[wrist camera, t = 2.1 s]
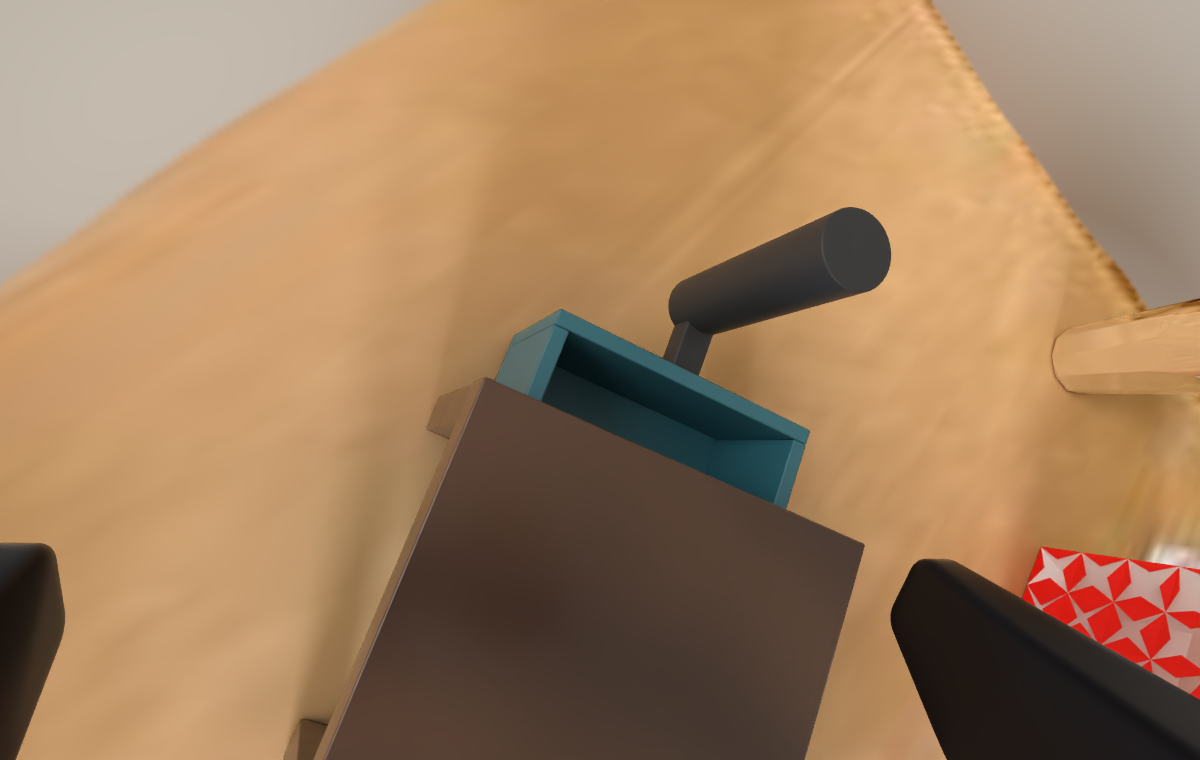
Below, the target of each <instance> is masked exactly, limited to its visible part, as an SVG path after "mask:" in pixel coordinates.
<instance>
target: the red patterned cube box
mask: <svg viewBox="0 0 1200 760" xmlns="http://www.w3.org/2000/svg"><path fill="white" fill-rule="evenodd" d="M1022 599H1023V600H1025V601H1026V602H1028V603H1030V604H1032V605H1033V606H1035V607H1037V608H1039V609H1041V610H1042V611H1044V612H1046V613H1048V614H1049V615H1051V616H1053V617H1055V618H1056V619H1058V620H1060V621H1062V622H1063V623H1065V624H1067V625H1069V626H1071V627H1072V628H1074V629H1076V630H1078V631H1079V632H1081V633H1083V634H1085V635H1086V636H1088V637H1090V638H1092V639H1093V640H1095V641H1097V642H1099V643H1101V644H1102V645H1104V646H1106V647H1108V648H1109V649H1111V650H1113V651H1115V652H1116V653H1118V654H1120V655H1122V656H1124V657H1125V658H1127V659H1129V660H1131V661H1132V662H1134V663H1136V664H1138V665H1139V666H1141V667H1143V668H1145V669H1146V670H1148V671H1150V672H1152V673H1154V674H1155V675H1157V676H1159V677H1161V678H1162V679H1164V680H1166V681H1168V682H1169V683H1171V684H1173V685H1175V686H1176V687H1178V688H1180V689H1182V690H1184V691H1185V692H1187V693H1189V694H1191V695H1192V696H1194V697H1196V698H1198V699H1199V700H1200V569H1193V568H1186V567H1179V566H1173V565H1166V564H1159V563H1152V562H1145V561H1138V560H1131V559H1124V558H1117V557H1110V556H1103V555H1096V554H1089V553H1082V552H1075V551H1068V550H1061V549H1054V548H1047V547H1041V548H1040V551H1039V554H1038V557H1037V559H1036V562H1035V565H1034V567H1033V570H1032V573H1031V576H1030V578H1029V581H1028V585H1027V587H1026V590H1025V593H1024V595H1023V598H1022Z"/></svg>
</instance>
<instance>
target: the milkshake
mask: <svg viewBox="0 0 1200 760" xmlns="http://www.w3.org/2000/svg"><path fill="white" fill-rule="evenodd" d="M1052 361H1053V365H1054V371H1055V376H1056V377H1057V378H1058V380H1059V381H1060V382H1061V383H1062V385H1063V386H1064V387H1065V388H1066V390H1067V391H1072V392H1077V393H1082V394H1194V395H1200V298H1198V299H1194V300H1190V301H1186V302H1182V303H1177V304H1173V305H1168V306H1164V307H1159V308H1155V309H1151V310H1146V311H1142V312H1138V313H1133V314H1129V315H1124V316H1120V317H1116V318H1111V319H1107V320H1103V321H1098V322H1094V323H1090V324H1085V325H1081V326H1077V327H1073V328H1069V329H1068V330H1066V331H1065V332H1064V333H1062V334H1061V335H1060V336H1058V337H1057V338H1056V342H1055V346H1054V349H1053V353H1052Z"/></svg>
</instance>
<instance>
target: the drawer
mask: <svg viewBox="0 0 1200 760" xmlns="http://www.w3.org/2000/svg"><path fill="white" fill-rule="evenodd" d="M890 262H891V248H890V243H889V239H888V236H887V234H886V232H885V230H884V228H883V226H882V225H881V224H880V222H879V221H878V220H877V219H876V218H875V217H874V216H873V215H871V214H870V213H869V212H867V211H865V210H862V209H859V208H854V207H847V208H842V209H840V210H837V211H835V212H833V213H831V214H829V215H826V216H824V217H822V218H820V219H817V220H815V221H813V222H811V223H809V224H806V225H804V226H802V227H800V228H798V229H795V230H793V231H791V232H789V233H787V234H784V235H782V236H780V237H778V238H776V239H773V240H771V241H769V242H767V243H765V244H762V245H760V246H758V247H756V248H754V249H751V250H749V251H747V252H745V253H743V254H740V255H738V256H736V257H734V258H732V259H729V260H727V261H725V262H723V263H721V264H718V265H716V266H714V267H712V268H710V269H707V270H705V271H703V272H701V273H699V274H696V275H694V276H692V277H690V278H688V279H685V280H683V281H681V282H680V283H679V284H677V285H676V286H675V288H674V289H673V291H672V293H671V295H670V298H669V306H668V307H669V314H670V317H671V320H672V322H673V324H674V325H675V327H674V329H673V332H672V335H671V338H670V340H669V343H668V346H667V348H666V351H665V354H664V357H663V358H661V357H659V356H657V355H655V354H653V353H651V352H649V351H646V350H644V349H642V348H640V347H638V346H636V345H634V344H632V343H630V342H628V341H626V340H624V339H622V338H620V337H618V336H616V335H614V334H612V333H610V332H608V331H606V330H604V329H602V328H599V327H597V326H595V325H593V324H591V323H589V322H587V321H585V320H583V319H581V318H579V317H577V316H575V315H573V314H571V313H569V312H567V311H565V310H563V309H560V310H558V311H556V312H555V313H553V314H551V315H549V316H548V317H546V318H544V319H542V320H540V321H539V322H537V323H535V324H533V325H532V326H530V327H528V328H526V329H525V330H523V331H521V332H519V333H518V334H516V335H514V337H513V339H512V341H511V344H510V346H509V349H508V351H507V353H506V356H505V358H504V360H503V363H502V365H501V368H500V370H499V372H498V375H497V377H496V380H495V381H496V382H499V383H501V384H503V385H505V386H508V387H510V388H512V389H514V390H517V391H519V392H521V393H523V394H526V395H528V396H530V397H533V398H535V399H537V400H539V401H542V402H544V403H546V404H548V405H551V406H553V407H555V408H557V409H560V410H562V411H564V412H566V413H569V414H571V415H573V416H576V417H578V418H580V419H582V420H585V421H587V422H589V423H591V424H594V425H596V426H598V427H600V428H603V429H605V430H607V431H609V432H612V433H614V434H616V435H619V436H621V437H623V438H625V439H628V440H630V441H632V442H634V443H637V444H639V445H641V446H643V447H646V448H648V449H650V450H652V451H655V452H657V453H659V454H662V455H664V456H666V457H668V458H671V459H673V460H675V461H677V462H680V463H682V464H684V465H686V466H689V467H691V468H693V469H695V470H698V471H700V472H702V473H705V474H707V475H709V476H711V477H714V478H716V479H718V480H720V481H723V482H725V483H727V484H729V485H732V486H734V487H736V488H738V489H741V490H743V491H745V492H748V493H750V494H752V495H754V496H757V497H759V498H761V499H763V500H766V501H768V502H770V503H772V504H775V505H777V506H779V507H781V508H784V509H786V507H787V504H788V501H789V498H790V494H791V491H792V488H793V485H794V481H795V478H796V475H797V472H798V468H799V465H800V462H801V459H802V456H803V452H804V449H805V445H804V444H806V443H807V439H808V436H809V433H810V431H809V430H808V429H806V428H804V427H802V426H800V425H798V424H796V423H794V422H792V421H790V420H788V419H786V418H783V417H781V416H779V415H777V414H775V413H773V412H771V411H769V410H767V409H765V408H763V407H761V406H759V405H757V404H755V403H753V402H751V401H749V400H747V399H745V398H743V397H741V396H738V395H736V394H734V393H732V392H730V391H728V390H726V389H724V388H722V387H720V386H718V385H716V384H714V383H712V382H710V381H708V380H706V379H704V378H702V377H700V376H699V373H700V370H701V367H702V364H703V361H704V358H705V356H706V353H707V350H708V347H709V344H710V341H711V339H712V336H713V335H714V334H718V333H722V332H725V331H729V330H732V329H736V328H739V327H743V326H747V325H750V324H754V323H757V322H761V321H764V320H768V319H772V318H775V317H779V316H782V315H786V314H789V313H793V312H796V311H800V310H804V309H807V308H811V307H814V306H818V305H821V304H825V303H829V302H832V301H836V300H839V299H843V298H846V297H850V296H854V295H857V294H861V293H864V292H868V291H871V290H872V289H874V288H876V287H877V286H878V285H879V284H880V283H881V282H882V281H883V280H884V278H885V277H886V275H887V273H888V270H889V267H890Z"/></svg>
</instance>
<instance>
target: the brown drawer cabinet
mask: <svg viewBox="0 0 1200 760" xmlns="http://www.w3.org/2000/svg"><path fill="white" fill-rule="evenodd" d="M427 429H428V430H430V431H432V432H435V433H437V434H440V435H442V436H445V437H447V438H449V441H448V443H447V446H446V448H445V451H444V453H443V455H442V458H441V460H440V462H439V465H438V467H437V469H436V472H435V474H434V476H433V479H432V481H431V484H430V486H429V488H428V491H427V493H426V495H425V498H424V500H423V502H422V505H421V507H420V509H419V512H418V514H417V516H416V519H415V521H414V524H413V526H412V528H411V531H410V533H409V535H408V538H407V540H406V542H405V545H404V547H403V549H402V552H401V554H400V557H399V559H398V561H397V564H396V566H395V568H394V571H393V573H392V575H391V578H390V580H389V582H388V585H387V587H386V590H385V592H384V594H383V597H382V599H381V601H380V604H379V606H378V608H377V611H376V613H375V615H374V618H373V620H372V623H371V625H370V627H369V630H368V632H367V634H366V637H365V639H364V641H363V644H362V646H361V648H360V651H359V653H358V655H357V658H356V660H355V663H354V665H353V667H352V670H351V672H350V674H349V677H348V679H347V681H346V684H345V686H344V688H343V691H342V693H341V696H340V698H339V700H338V703H337V705H336V707H335V710H334V712H333V714H332V717H331V719H330V721H329V724H328V725H324V724H320V723H317V722H313V721H309V720H305V719H300V720H299V722H298V725H297V727H296V729H295V732H294V734H293V736H292V738H291V741H290V743H289V745H288V748H287V750H286V752H285V755H284V759H283V760H805V756H806V753H807V749H808V746H809V742H810V738H811V735H812V731H813V728H814V724H815V721H816V717H817V714H818V710H819V706H820V703H821V699H822V696H823V692H824V689H825V685H826V682H827V678H828V674H829V671H830V667H831V664H832V660H833V657H834V653H835V650H836V646H837V643H838V639H839V635H840V632H841V628H842V625H843V621H844V618H845V614H846V611H847V607H848V603H849V600H850V596H851V593H852V589H853V586H854V582H855V579H856V575H857V571H858V568H859V564H860V561H861V557H862V554H863V550H864V547H865V545H864V544H863V543H861V542H858V541H856V540H854V539H852V538H849V537H847V536H845V535H843V534H840V533H838V532H836V531H834V530H831V529H829V528H827V527H824V526H822V525H820V524H818V523H815V522H813V521H811V520H809V519H806V518H804V517H802V516H800V515H797V514H795V513H793V512H791V511H788V510H786V509H784V508H781V507H779V506H777V505H775V504H772V503H770V502H768V501H766V500H763V499H761V498H759V497H757V496H754V495H752V494H750V493H748V492H745V491H743V490H741V489H738V488H736V487H734V486H732V485H729V484H727V483H725V482H723V481H720V480H718V479H716V478H714V477H711V476H709V475H707V474H705V473H702V472H700V471H698V470H695V469H693V468H691V467H689V466H686V465H684V464H682V463H680V462H677V461H675V460H673V459H671V458H668V457H666V456H664V455H662V454H659V453H657V452H655V451H652V450H650V449H648V448H646V447H643V446H641V445H639V444H637V443H634V442H632V441H630V440H628V439H625V438H623V437H621V436H619V435H616V434H614V433H612V432H609V431H607V430H605V429H603V428H600V427H598V426H596V425H594V424H591V423H589V422H587V421H585V420H582V419H580V418H578V417H576V416H573V415H571V414H569V413H566V412H564V411H562V410H560V409H557V408H555V407H553V406H551V405H548V404H546V403H544V402H542V401H539V400H537V399H535V398H533V397H530V396H528V395H526V394H523V393H521V392H519V391H517V390H514V389H512V388H510V387H508V386H505V385H503V384H501V383H499V382H496V381H494V380H492V379H490V378H487V377H484V378H482V379H479V380H477V381H475V382H474V383H473V384H471V385H469V386H466V387H464V388H461V389H459V390H456V391H454V392H451V393H449V394H447V395H444V396H442V397H440V398H439V400H438V402H437V404H436V406H435V409H434V411H433V413H432V416H431V418H430V420H429V423H428V425H427Z"/></svg>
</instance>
